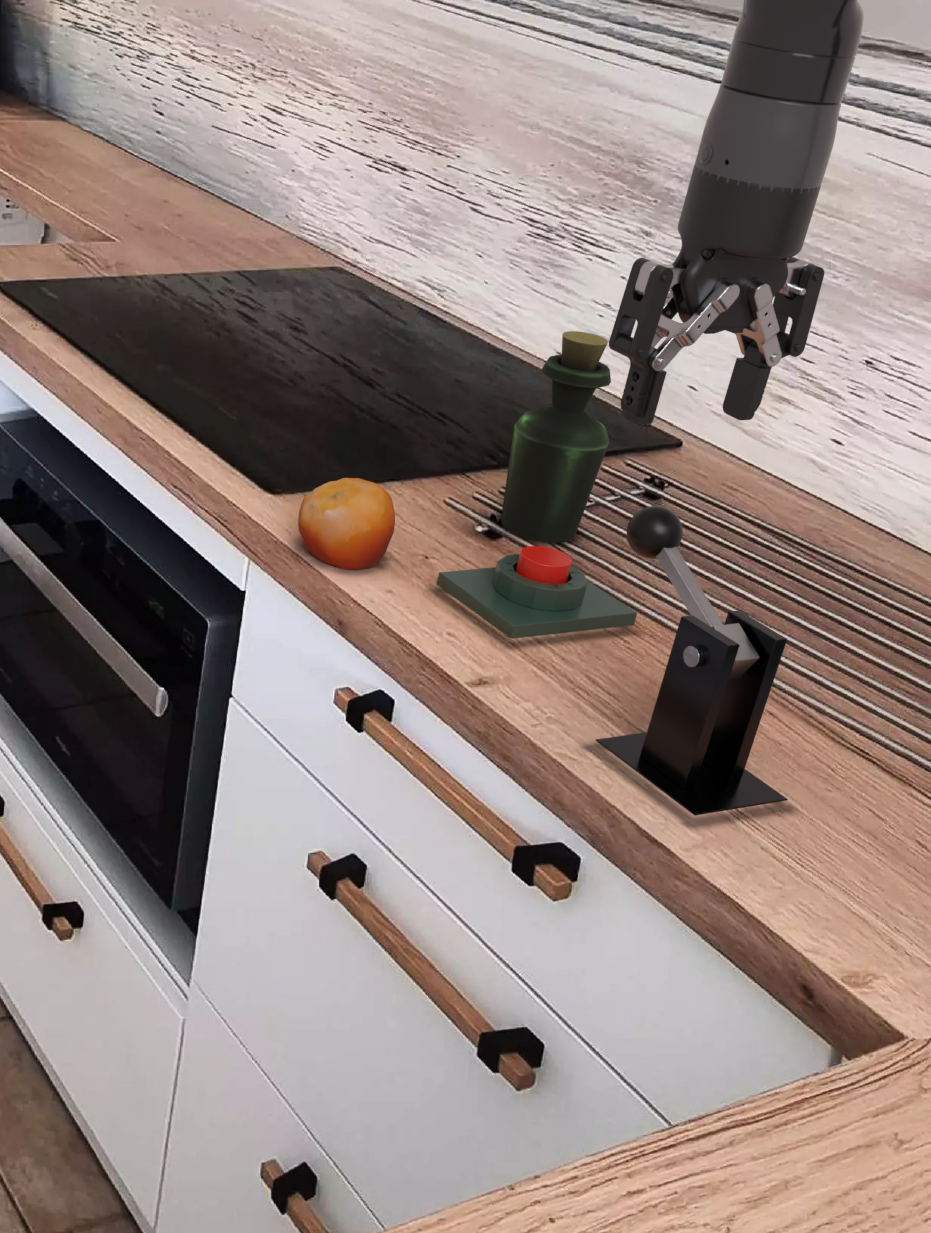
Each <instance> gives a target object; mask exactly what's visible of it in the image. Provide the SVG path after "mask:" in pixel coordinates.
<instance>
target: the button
mask: <svg viewBox="0 0 931 1233" xmlns="http://www.w3.org/2000/svg"><path fill="white" fill-rule="evenodd" d="M519 554H520V555H519V560H518V564H517V568H516V572H517V573H518V574H519V575H521V576H522V577H525V578H528V579H530V580H533V581H536V582H541V583H548V584H563V583H566V582H567V579H568V575H569V571H570V567H571V565H572V563H573V562H572V561H573V560H572V558H571V557H570V556H569V555H568V554H566V553H565V552H563V551H560V550H558V549H555V548H552V547H548V546H543V545H542V546H541V545H530V546H524V547H522V548H521V550H520V552H519Z"/></svg>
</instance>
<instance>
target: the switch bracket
mask: <svg viewBox="0 0 931 1233" xmlns="http://www.w3.org/2000/svg"><path fill="white" fill-rule="evenodd" d="M736 623H739V624H740V625H741V627H742V629H743V630H744V632H745V634H746V635H747V637H748V639H749V640H750V642H751V644H752V645H753V647H754V648H755V650H756V652H757V653H758V655H759V657H760V658H759V659H758V660H757V661H756V662H755V663H754V664H753V665H752V666H751V667H750V668H749V669H748V670H747V671H746V672H745V673H744V674H743V675H742V676H741V677H740V678H736V679H729V678H730V674H731V671H732V668H733V665H734V662H735V659H736V655H737V652H738V649H739V646H740V645H739V644H738V643H736V642H734V641H733V640H731V639H730V638H728V637H727V636H725V635H723V634H722V633H720V632H719V631H717V630H715V629H714V628H712V627H711V626H709V625H707V624H706V623H704V622H703V621H701V620H699V619H698V618H696V617H695V616H693V615H685V616H684V615H683V616H681V617H680V619H679V623H678V627H677V630H676V633H675V636H674V639H673V643H672V646H671V649H670V653H669V656H668V660H667V663H666V667H665V670H664V674H663V678H662V680H661V683H660V687H659V691H658V694H657V697H656V701H655V704H654V707H653V710H652V713H651V717H650V721H649V724H648V727H647V731H645V732H639V733H638V732H637V733H631V734H624V735H618V736H617V735H616V736H611V737H604V738H603V737H602V738H596V739H595V742H597V743H598V744H599V745H600V746H602V747H604V749H606V750H607V751H609V752H610V753H611V754H613V755H614V756H615V757H616V758H618V759H619V760H620V761H621V762H623V763H624V764H626V765H627V766H628V767H630V768H631V769H632V770H634V771H635V772H636V773H638V774H639V775H640V776H641V777H643V778H644V779H645V780H647V781H648V782H650V784H652V785H653V786H655V787H656V788H657V789H659V790H660V791H661V792H663V793H664V794H665V795H666V796H668V797H669V798H671V800H673V801H674V802H676V803H677V804H679V805H680V806H681V807H682V808H684V809H685V810H686V811H688V812H689V813H690V814H691V815H693V816H702V815H707V814H714V813H719V812H725V811H732V810H737V809H743V808H750V807H755V806H762V805H768V804H773V803H780V802H786V801H788V800H789V799H788V798H787V797H786V796H784V795H783V794H781V793H780V792H779V791H777V790H776V789H775V788H773V787H771V786H770V785H768V784H767V783H766V782H765V781H763V780H761V779H760V778H759V777H758V776H756V775H755V774H753V773H752V772H750V771H749V770H748V769H746V766H747V763H748V760H749V756H750V753H751V751H752V747H753V744H754V741H755V738H756V735H757V732H758V730H759V726H760V724H761V722H762V717H763V715H764V711H765V709H766V705H767V702H768V699H769V697H770V693H771V690H772V688H773V687H772V686H773V684H774V681H775V679H776V678H775V677H776V675H777V673H778V669H779V666H780V663H781V659H782V657H783V653H784V650H785V648H786V645H787V641H788V639H787V638H786V637H784V636H783V635H782V634H780V633H778V632H776V631H775V630H773V629H771V628H770V627H768V626H767V625H765V624H764V623H761V622H760V621H758V620H756V619H755V618H754V617H751V616H750V615H748V614H746V613H745V612H744V611H742V610H740V609H739V610H730V611H728V612H727V615H726V618H725V621H724V623H723V625H727V624H736Z"/></svg>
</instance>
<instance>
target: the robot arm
mask: <svg viewBox="0 0 931 1233" xmlns="http://www.w3.org/2000/svg"><path fill="white" fill-rule="evenodd" d="M742 1H743V2H742V8H741V9H742V10H741V13H740V16H739V19H738V21H737V24H736V27H735V29H734V32H733V38H732V41H731V45H730V49H729V52H728V56H727V60H726V63H725V67H724V70H723V73H722V77H721V82H720V85H719V88H718V91H717V94H716V96H715V99H714V101H713V103H712V106H711V109H710V111H709V113H708V115H707V118H706V121H705V124H704V127H703V131H702V134H701V138H700V143H699V145H698V150H697V154H696V157H695V161H694V165H693V168H692V171H691V176H690V179H689V183H688V186H687V190H686V194H685V198H684V202H683V204H682V209H681V212H680V215H679V220H678V223H677V231H678V234H679V236H680V240H681V248H680V251H679V252H678V255H677V256H676V258H675V260H674V261H673V262H672V264H666V263H658V262H655V261H652V260H650V259H648V258H645V257H638V258H637V259H635V261H634V262H633V264H632V266H631V269H630V272H629V276H628V278H627V281H626V286H625V288H624V292H623V295H622V298H621V301H620V305H619V307H618V311H617V314H616V317H615V321H614V324H613V328H612V331H611V334H610V337H609V340H608V347H609V348H610V350H612V351H614V352H616V353H617V354H619V355H622V356H624V357H627V358H628V360H629V370H628V372H627V377H626V381H625V384H624V389H623V392H622V393H623V394H622V395H621V399H620V409H621V411H622V412H621V414H622V416H623V418H624V419H626V420H628V421H630V422H631V423H633V424H635V425H637V426H649V425H652V424H653V422H654V419H655V416H656V412H657V409H658V405H659V403H660V402H659V401H660V397H661V394H662V390H663V387H664V383H665V381H666V380H665V379H666V376H667V371H666V370H665V369H666V368H667V367H668V365H669V364H670V363H672V361H673V360H674V359H675V357H676V356H678V354H679V353H680V352H681V350H682V349H683V348H686V347H691V346H692V345H694V344H695V343H696V342H698V340H699V338H701V336H702V335H713V334H718V333H721V332H723V331H726V332H728V333H732V334H735V337H736V340H737V343H738V346H739V349H740V353H741V354H742V355H743V357H736V359H735V363H734V365H733V369H732V372H731V376H730V379H729V383H728V386H727V388H726V393H725V396H724V399H723V403H722V411H723V412H724V414H726V415H727V416H730V417H731V418H734V419H736V420H737V421H751V420H752V419H753V418H754V416H755V414H756V412H757V410H759V407H760V406H761V404H762V400H763V396H764V394H765V391H766V390H765V389H766V387H767V384H768V381H769V377H770V374H771V371H772V368H773V367H775V366H777V365H778V364H779V363H780V361H781V360H782V359H783V358H786V357H788V356H791V357H793V358H797V357H799V356H801V355H802V354H803V352H804V351H805V348H806V344H807V342H808V338H809V334H810V330H811V327H812V322H813V318H814V315H815V311H816V307H817V303H818V300H819V296H820V292H821V288H822V285H823V281H824V277H825V269H824V267H821V266H818V265H816V264H814V263H813V262H809V261H806V260H803V259H800V258H797V257H795V256H798V254H799V253H800V252H801V251H802V249H803V246H804V244H805V240H806V236H807V234H808V230H809V226H810V223H811V221H812V217H813V213H814V211H815V207H816V204H817V201H818V198H819V194H820V191H821V188H822V187H821V186H822V184H823V181H824V178H825V174H826V171H827V168H828V164H829V161H830V158H831V154H832V152H833V148H834V144H835V140H836V134H837V130H838V129H837V128H838V121H839V114H840V111H841V107H842V102H843V99H844V98H845V94H846V90H847V87H848V83H849V80H850V77H851V73H852V70H853V67H854V64H855V60H856V56H857V54H858V49H859V45H860V42H861V39H862V33H863V29H864V28H863V27H864V10H863V7H862V6H861V3H860V2H859V1H858V0H742ZM677 314H678V318H679V319H680V321H681V322H678V321H675V320H673V318H675V316H676V315H677ZM789 318H790V319H791V326H790V328H789V333H788V332H786V329H787V324H788V321H789ZM636 322H637V323H636ZM635 324H637V325H636V328H635V331H634V334H633V330H634V327H635ZM632 334H633V337H632ZM663 338H665V339H664V340H663V341H662V343H660V344H659V346H658V347H657V348H656V346H657V344H658V343H659V342H660V341H661V340H662V339H663Z"/></svg>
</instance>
